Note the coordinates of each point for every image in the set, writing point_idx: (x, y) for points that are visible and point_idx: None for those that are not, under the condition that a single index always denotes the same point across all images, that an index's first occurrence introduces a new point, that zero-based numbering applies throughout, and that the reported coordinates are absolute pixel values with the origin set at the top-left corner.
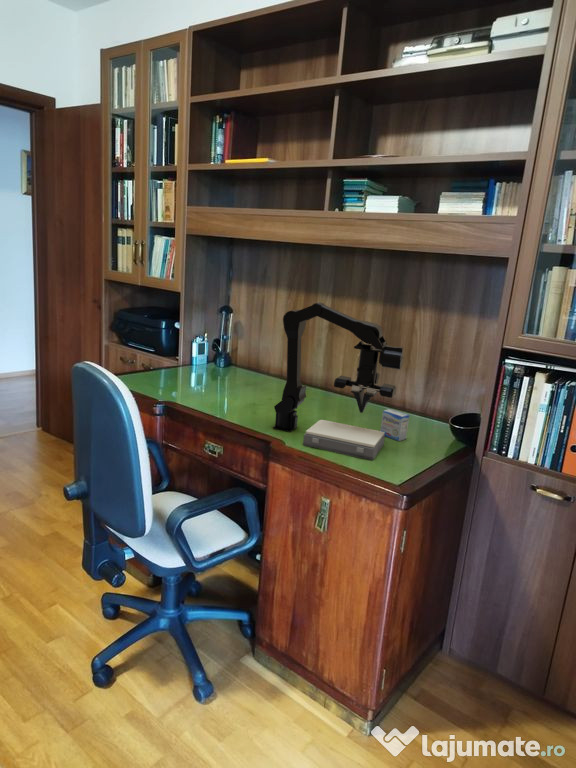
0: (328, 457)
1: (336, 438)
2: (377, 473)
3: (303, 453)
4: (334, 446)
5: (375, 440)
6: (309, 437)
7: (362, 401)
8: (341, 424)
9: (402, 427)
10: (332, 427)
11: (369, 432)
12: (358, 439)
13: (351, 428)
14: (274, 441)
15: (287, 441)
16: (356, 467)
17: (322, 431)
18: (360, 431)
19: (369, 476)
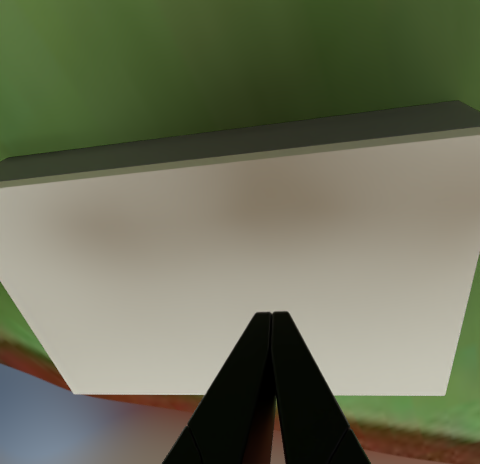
0: None
1: None
2: (454, 415)
3: (159, 395)
4: None
5: (441, 339)
6: None
7: (251, 454)
8: (114, 197)
9: None
10: (118, 290)
11: (370, 230)
12: (338, 371)
13: (219, 232)
14: (15, 363)
15: (39, 343)
16: (368, 407)
17: (127, 366)
18: (301, 250)
19: (428, 438)
